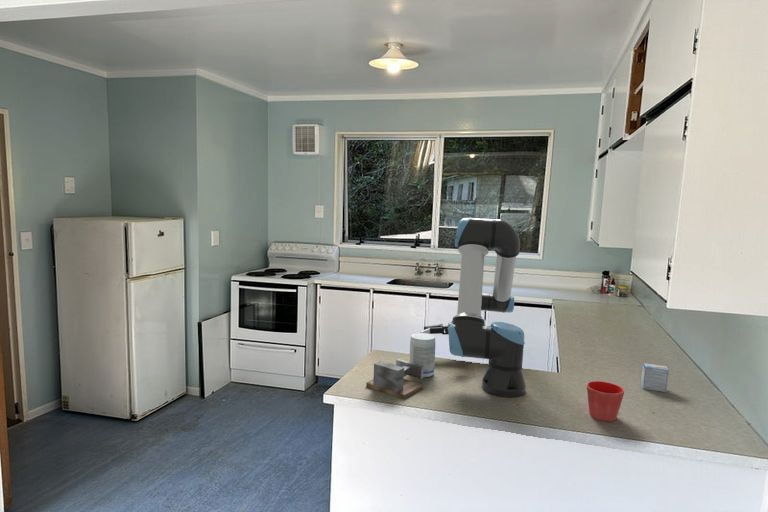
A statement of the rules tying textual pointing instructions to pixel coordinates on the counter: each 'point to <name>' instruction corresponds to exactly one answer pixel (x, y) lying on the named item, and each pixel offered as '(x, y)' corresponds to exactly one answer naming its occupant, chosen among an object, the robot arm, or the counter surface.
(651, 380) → the medicine box
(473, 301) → the robot arm
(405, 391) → the gauge bench
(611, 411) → the flower pot
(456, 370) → the counter surface
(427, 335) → the supplement tub
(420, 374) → the gauge plunger
